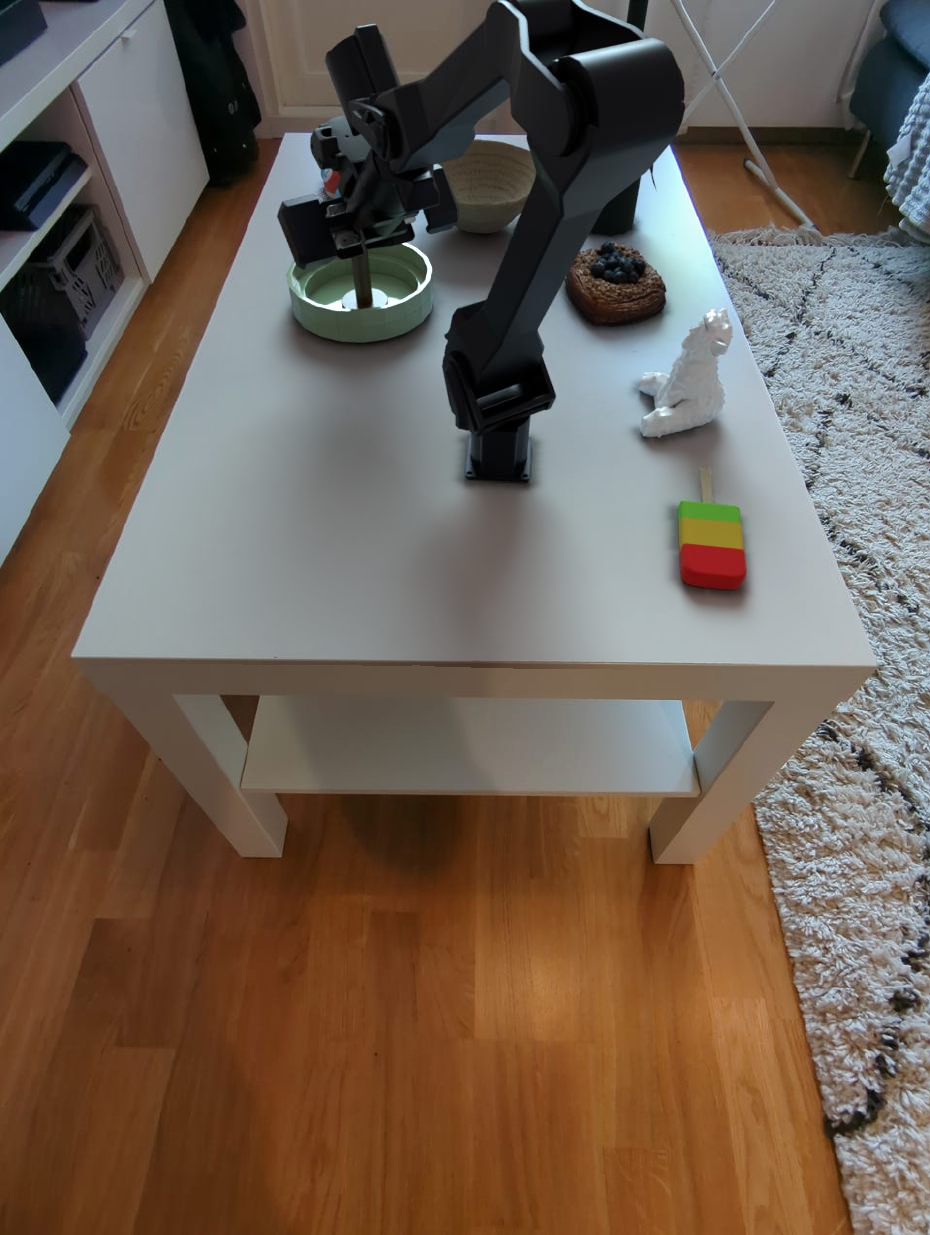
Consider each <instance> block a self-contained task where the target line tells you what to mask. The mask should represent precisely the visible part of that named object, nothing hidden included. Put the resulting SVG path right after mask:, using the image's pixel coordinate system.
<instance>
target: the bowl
mask: <svg viewBox="0 0 930 1235" xmlns="http://www.w3.org/2000/svg"><path fill="white" fill-rule="evenodd" d="M438 164H439V165H440V166H441V167H443V168H444V169H445V170H446V172H447V175H448V178H449V181H450V183H451V186H452V189H453V192H454V195H455V198H456V201H457V204H458V206H459V219H458V222H457V223H456V224H455V226H454V227H457V228H458V229H461V230H463V231H465V232H469V233H474V234H492V233H496V232H499V231H501V230H502V229H504V228H506V227H507V226H508V225H510V224H511V223H512V222H514V220H515V219H517V217H519V216H520V214H521V212H522V209H523V207H524V205H525V202H526V200H527V197H528V195H529V192H530V190H531V187H532V185H533V182H534V180H535V176H536V169H535V166H534V163H533V159H532V156H531V153H530V149H526V148H523V147H521V146H517V145H514V144H511V143H507V142H504V141H499V140H492V139H491V140H490V139H481V138H480V139H479V138H477V139H474V140H473V142H472V143H471V144H470V146H469V147H468V148H467V149H466V151H465V152H464V153H463V155H462V156H461V157H460V158H458V159H454V160H450V161H446V162H442V163H438Z"/></svg>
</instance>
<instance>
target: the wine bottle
mask: <svg viewBox="0 0 930 1235" xmlns="http://www.w3.org/2000/svg"><path fill="white" fill-rule="evenodd" d="M648 5H649V0H628V7H627V16H626V21H625V22H626V23H629V24H631V25H633V26H635V27H637V28H638V29H640V30H641V31H642V32H643V33H644V34H645V32H644V31H645V25H646V18H647V13H648V8H649V7H648ZM649 171H650V175H651V180H652V184H653V187H654V190H655V191H656V192H657V186H656V183H655V179H654V175H653V174H654V164H653V165H652V166H651V167H650V168H649ZM641 180H642V176H641V177H640V178H638V179H637V180H636V181H635V182H633V183H632V184H631V185H629V186H628V187H627V188H626V189H624V190H623V191H622V192H620V193H619V194H618V195H617V196H615V197H614V198H613V199H612V200H610V201H609V202H608V203H607V204H606V205H605V206H604V208H603V209H602V211H601V213H600V215H599V216H598V218H597V220H596V222H595V224H594V226H593V228H592V229H591V231H590V233H589V234H592V235H594V236H602V237H616V236H621V235H625V234H626V233H628V232H630V231H631V230H633V226H634V222H635V216H636V209H637V203H638V197H639V193H640V187H641Z"/></svg>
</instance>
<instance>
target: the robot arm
mask: <svg viewBox="0 0 930 1235" xmlns="http://www.w3.org/2000/svg"><path fill="white" fill-rule="evenodd" d="M324 63H325V66H326V68H327V71H328V73H329V74H328V75H329V76H330V79H331V82H332V84H333V87H334V90H335V92H336V95H337V98H338V100H339V103H340V105H341V108H342V111H343V114H344V115H342V116H337V117H332V118H330V119H329V120H328V121H327V122H326V123H321V124H318V128H314V129H313V132H312V133H311V135H310V137H309V138H310V139H309V141H310V142H309V149H310V152H311V156H312V157H313V159H314V161H315V162H316V164H317V167H318V168H319V170H320V171H321V170H325V169H331V170H332V171H333V172H335V171H337V173H338V175H339V176H340V179H339V182H338V184H337V188H338V190H339V193H340V195H341V197H338V198H334V199H333V198H330V199H326V200H322V201H320V200H319V198H318V197H317V196H316V195H315V193H310V194H306V195H301V196H299V197H294V198H291V199H286V200H282V201H281V203H280V206H279V208H278V211H277V215H276V218H277V221H278V223H279V225H280V228H281V230H282V233H283V235H284V238H285V240H286V244H287V245H288V248H289V251H290V253H291V255H292V258H293V261H295V263H296V266H297V267H299V268H300V269H302V270H308V269H311V268H315V267H318V266H322V265H325V264H328V263H330V262H331V261H333V260H335V258H336V256H337V258H338V259H340V260H346V259H349V258H353V257H357V256H360V255H364V251H363V248H362V246H361V241H363V244H367V248H368V249H374V248H382V247H391V246H396V245H399V244H403V243H409V242H413V241H414V240H415V238H416V233H415V230H414V227H413V225H412V223H414V222H416V219H417V218H416V217H417V216H418V215H419V213H420V211H423V215H424V217H425V220H426V223H427V225H426V226H425V231H426V234H428V235H436V234H440V233H443V232H446V231H449V230H452V229H453V228H454V227H456V226H455V224H456V223H457V222H458V219H459V206H458V204H457V201H456V198H455V195H454V192H453V189H452V186H451V183H450V181H449V178H448V175H447V172H446V170H445V169H444V168H443V167H441V166H440V165H439V164H438V163H442V162H446V161H450V160H454V159H458V158H460V157H461V156H462V155H463V153H464V152H465V151H466V149H467V148H468V147H469V146H470V144H471V143H472V142H473V140H474V139H475V138H476V135H477V134H476V129H475V126H476V125H477V124H478V123H479V121H481V119H483V118H485V117H486V116H487V115H488V114H490V113H491V112H492V111H494V110H495V109H496V108H497V107H499V106H500V105H502V104H503V103H504V102H506V101H507V100H508V99H509V104H510V116H511V117H512V119H513V120H514V121H515V122H516V123H517V124H518V125H519V127H520V128H521V129H522V131H524V132H525V133H526V138H525V139H526V143H527V145H528V150H529V151H530V153H531V156H532V159H533V163H534V166H535V169H536V176H535V180H534V182H533V185H532V187H531V190H530V192H529V195H528V197H527V200H526V202H525V205H524V207H523V209H522V212H521V214H519V216H518V220H517V221H516V224H515V227H514V230H513V232H512V234H511V237H510V239H509V242H508V244H507V247H506V250H505V252H504V255H503V257H502V259H501V262H500V265H499V267H498V270H497V272H496V274H495V277H494V279H493V282H492V283H491V287H490V289H489V291H488V294H487V296H486V298H484V299H481V300H478V301H475V302H472V303H469V304H465V305H462V306H459V307H457V308H456V310H454V312H453V314H452V315H451V321H450V325H449V329H448V331H447V332H446V333H444V335H443V336H444V339H445V340H447V342H446V345H445V348H444V355H443V357H442V364H441V368H442V373H443V378H444V383H445V389H446V394H447V399H448V400H447V401H448V405H449V407H450V411H451V413H452V414H453V415H454V417H455V418H454V419H455V420H454V422H455V424H454V425H455V426H456V428H457V429H458V430H463V431H466V432H468V431H469V433H470V434H468V436H467V446H466V448H467V449H466V454H465V455H466V457H465V467H464V478H465V479H466V480H469V481H486V482H487V481H488V482H506V483H529V482H531V467H532V466H531V464H532V463H531V462H532V437H530V426H531V416H532V415H535V414H538V413H540V412H543V411H548V410H551V409H552V407H553V405H554V403H555V401H556V398H557V393H556V391H555V387H554V385H553V382H552V379H551V377H550V373H549V371H548V367H547V365H546V362H545V359H544V356H543V355H544V351H545V345H544V341H543V340H542V337H541V334H540V333H539V328H540V326H541V324H542V322H543V320H544V319H545V316H546V315H547V314H548V311H549V310H550V308H551V305H552V304H553V302H554V300H555V298H556V297H557V294H558V293H559V291H560V289H561V287H562V286H563V284H564V283H565V281H564V280H565V278H566V276H567V274H568V272H569V270H570V269H571V267H572V265H573V263H574V261H575V259H576V257H577V255H578V254H579V252H580V251H582V248H583V246H584V244H585V243H586V242H587V241H586V240H587V239H588V237H589V235H590V234H591V233H590V231H591V229H592V228H593V226H594V224H595V222H596V220H597V218H598V216H599V215H600V213H601V211H602V209H603V208H604V206H605V205H606V204H607V203H608V202H609V201H610V200H612V199H613V198H614V197H615V196H617V195H618V194H619V193H620V192H622V191H623V190H624V189H626V188H627V187H628V186H629V185H631V184H632V183H633V182H635V181H636V180H637V179H638V178H640V177H641V178H642V176H644V175H645V174H646V173H647V172H648V171H650V167H651V166H652V165H653V166H654V164H655V162H656V161H657V160H658V159H659V158H660V157H661V155H662V154H663V153H664V152H665V151H666V150H667V148H668V147H669V146H670V145H671V143H672V142H673V141H674V140H675V138H676V137H677V135H678V132H679V130H680V128H681V125H682V123H683V121H684V116H685V112H686V104H685V98H686V94H685V92H686V89H685V80H684V77H683V76H684V75H683V72H682V70H681V68H680V66H679V64H678V61H677V60H676V57H675V55H674V53H673V51H672V50H671V49H670V47H668V46H667V44H666V43H665V42H664V41H662V40H660V39H657V38H655V37H649V36H648V35H647V34H645V32H644V33H643V32H642V31H641V30H640V29H638V28H637V27H635V26H633V25H631V24H629V23H626V21H624V20H622V19H619V18H617V17H614V16H612V15H609V14H607V13H604V12H602V11H599V10H597V9H595V8H592V7H590V6H588V5H586V4H585V3H584V2H583V1H581V0H495V1H493V2H491V3H490V5H489V6H488V8H487V10H486V13H485V17H484V18H483V19H482V20H481V21H480V22H478V24H477V25H476V26H475V27H474V28H473V29H472V30H471V31H469V33H468V34H467V35H466V36H465V37H464V38H463V39H462V40H461V41H460V42H459V43H458V44H457V45H456V46H455V47H454V48H453V49H452V50H451V51H450V52H449V53H448V54H447V55H446V56H445V57H444V58H442V60H441V61H440V62H439V63H438V64H437V65H436V66H435V67H434V68H433V69H432V70H431V71H430V72H429V73H428V74H427V75H426V76H425V77H422V78H420V79H418V80H415V81H411V82H408V83H405V84H402V82H401V80H400V77H399V74H398V72H397V69H396V65H395V63H394V61H393V58H392V54H391V52H390V49H389V47H388V44H387V41H386V38H385V36H384V35H383V34H382V33H380V30H379V27H378V24H377V23H370V24H365V25H358V26H355V28H354V31H353V33H352V34H351V35H349V36H347V37H345V38H343V39H342V40H340V41H339V42H338V43H337V44H335V46H334V47H333V48H332V49H331V50H328V51H327V52H326V54H325V58H324ZM344 197H346V199H347V202H345V201H344Z"/></svg>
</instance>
